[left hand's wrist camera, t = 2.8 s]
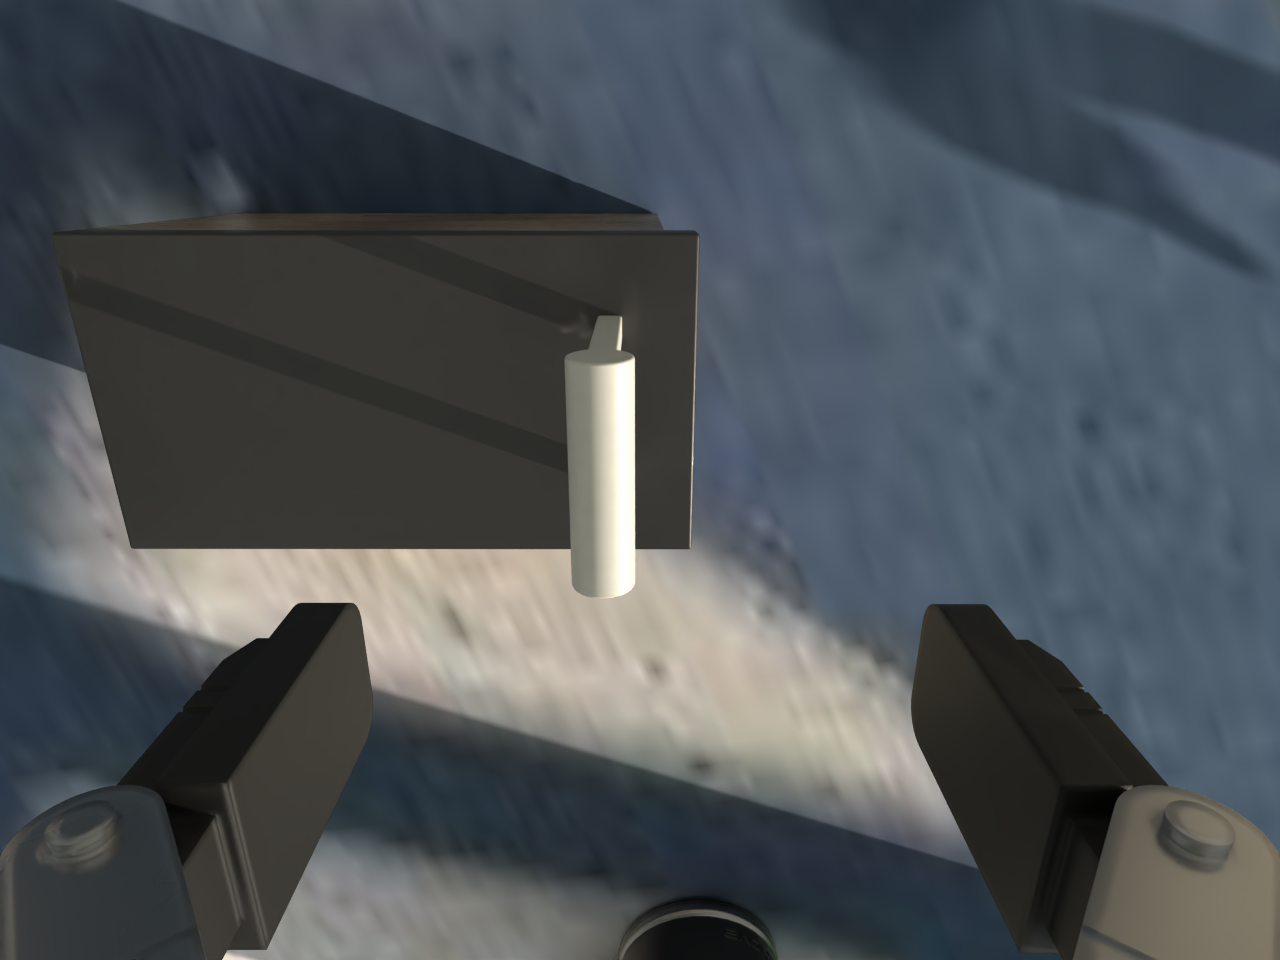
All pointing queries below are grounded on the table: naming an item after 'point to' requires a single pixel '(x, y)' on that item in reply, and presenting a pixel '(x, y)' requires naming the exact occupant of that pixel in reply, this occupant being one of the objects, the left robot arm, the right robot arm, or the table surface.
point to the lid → (395, 388)
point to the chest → (405, 222)
